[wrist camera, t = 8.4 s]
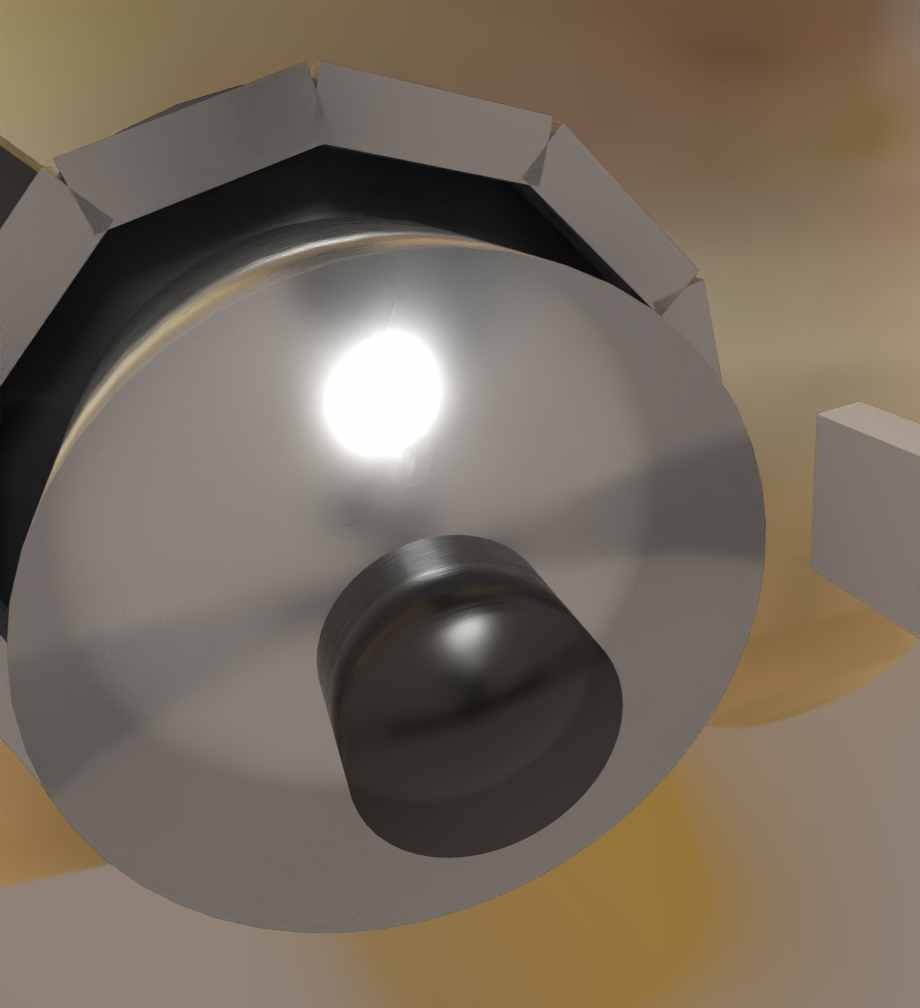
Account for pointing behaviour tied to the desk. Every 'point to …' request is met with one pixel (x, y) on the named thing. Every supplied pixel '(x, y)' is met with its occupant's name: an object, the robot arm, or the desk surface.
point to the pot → (271, 204)
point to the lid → (379, 576)
